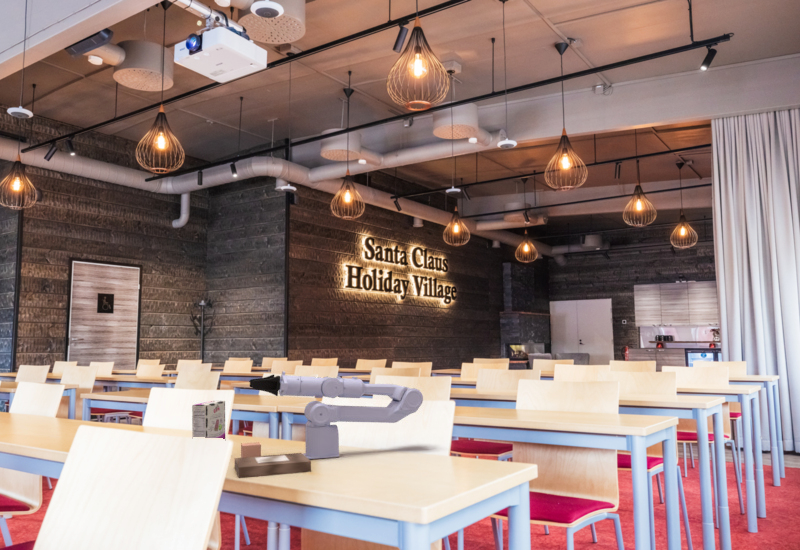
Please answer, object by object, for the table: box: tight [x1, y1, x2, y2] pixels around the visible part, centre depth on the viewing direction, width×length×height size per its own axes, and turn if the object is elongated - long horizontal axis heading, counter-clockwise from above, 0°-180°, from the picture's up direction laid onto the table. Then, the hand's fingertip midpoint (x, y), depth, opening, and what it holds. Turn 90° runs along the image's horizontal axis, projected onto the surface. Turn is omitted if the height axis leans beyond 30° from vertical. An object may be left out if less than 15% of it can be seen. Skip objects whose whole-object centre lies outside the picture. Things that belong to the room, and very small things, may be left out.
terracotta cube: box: [240, 441, 262, 458], centre depth 175 cm, size 5×5×5 cm
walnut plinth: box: [234, 452, 312, 479], centre depth 164 cm, size 18×14×3 cm
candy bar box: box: [191, 400, 226, 440], centre depth 181 cm, size 11×5×16 cm, turn 168°
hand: (251, 383), depth 177 cm, fingers open, 7 cm apart
